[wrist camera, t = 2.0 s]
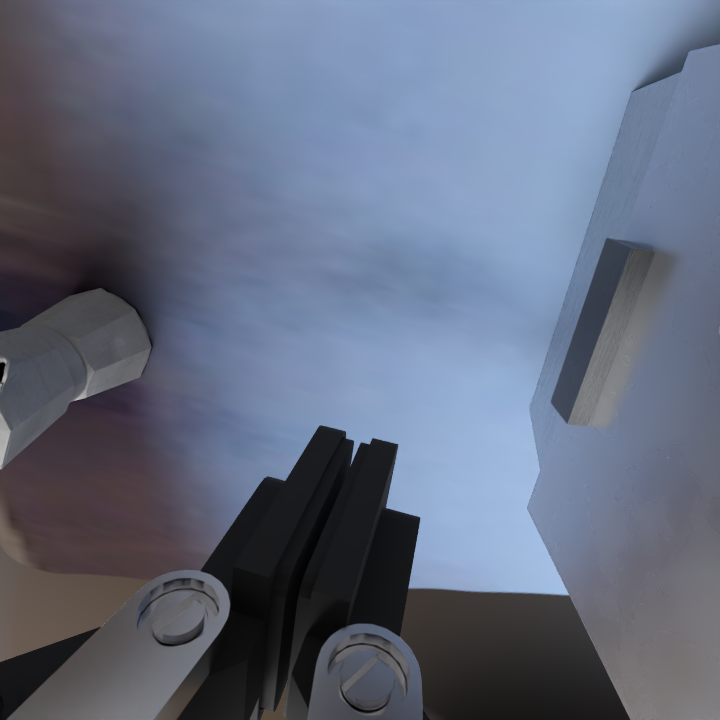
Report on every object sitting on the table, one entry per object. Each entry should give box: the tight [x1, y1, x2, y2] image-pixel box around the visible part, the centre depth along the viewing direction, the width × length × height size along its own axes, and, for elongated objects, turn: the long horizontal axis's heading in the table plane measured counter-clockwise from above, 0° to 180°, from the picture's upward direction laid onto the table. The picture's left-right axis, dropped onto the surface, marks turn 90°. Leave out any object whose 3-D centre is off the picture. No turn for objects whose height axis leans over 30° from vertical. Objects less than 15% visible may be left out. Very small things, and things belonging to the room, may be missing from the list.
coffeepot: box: [0, 288, 152, 469], centre depth 37 cm, size 15×9×18 cm, turn 128°
